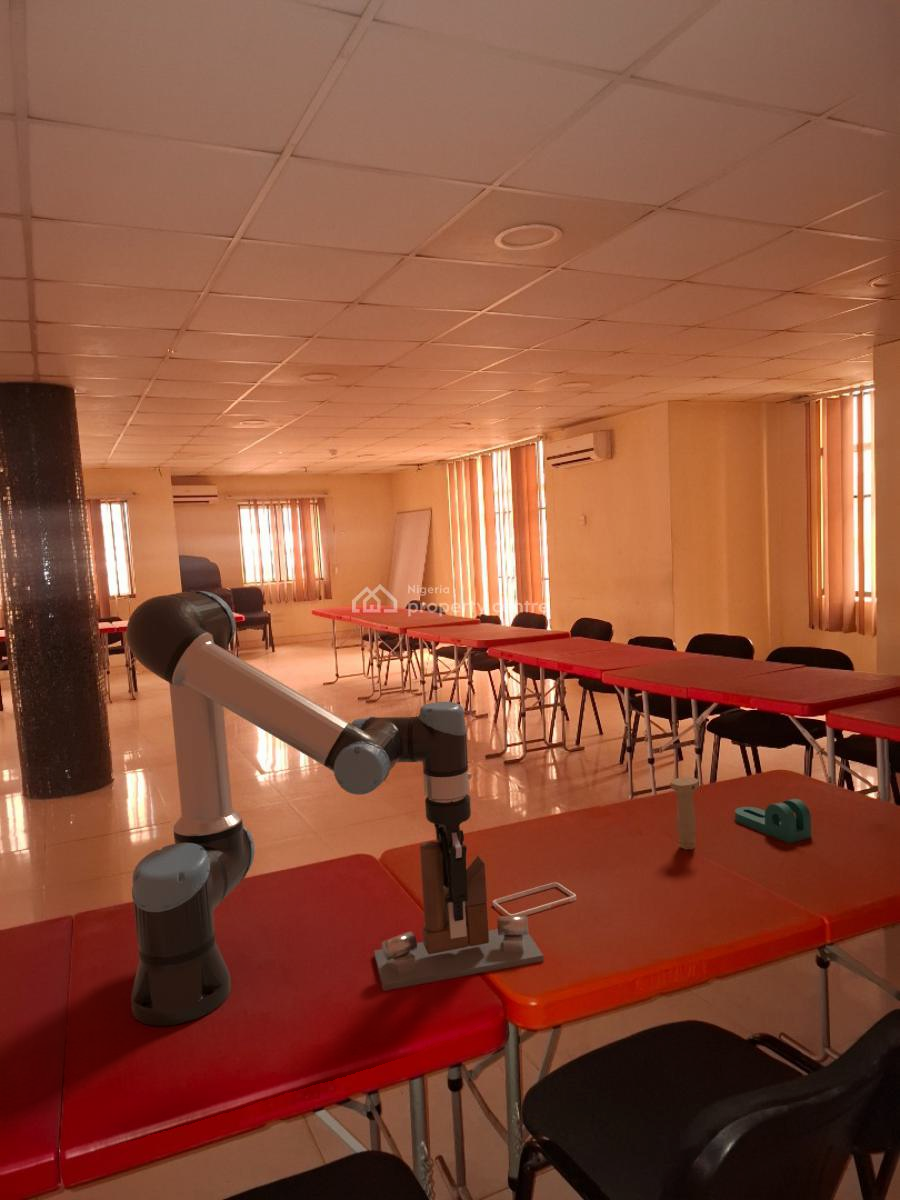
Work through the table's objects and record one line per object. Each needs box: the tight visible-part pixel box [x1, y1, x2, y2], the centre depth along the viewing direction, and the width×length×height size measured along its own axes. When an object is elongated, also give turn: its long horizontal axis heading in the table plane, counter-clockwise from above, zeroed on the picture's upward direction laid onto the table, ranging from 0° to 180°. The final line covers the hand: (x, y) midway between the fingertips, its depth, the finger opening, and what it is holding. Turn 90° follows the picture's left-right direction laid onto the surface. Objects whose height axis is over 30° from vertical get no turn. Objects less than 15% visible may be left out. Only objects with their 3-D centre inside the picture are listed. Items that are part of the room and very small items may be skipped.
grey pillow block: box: [381, 930, 418, 975], centre depth 130 cm, size 5×4×5 cm
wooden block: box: [419, 840, 489, 954], centre depth 132 cm, size 4×11×18 cm, turn 105°
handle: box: [670, 776, 700, 851], centre depth 173 cm, size 5×6×15 cm
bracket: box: [734, 798, 812, 844], centre depth 181 cm, size 18×7×8 cm, turn 24°
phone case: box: [492, 882, 577, 916], centre depth 152 cm, size 7×1×15 cm
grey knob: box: [497, 915, 529, 952], centre depth 134 cm, size 5×4×5 cm
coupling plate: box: [373, 928, 545, 992], centre depth 133 cm, size 27×11×1 cm, turn 103°
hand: (455, 929), depth 133 cm, fingers closed on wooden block, 4 cm apart
